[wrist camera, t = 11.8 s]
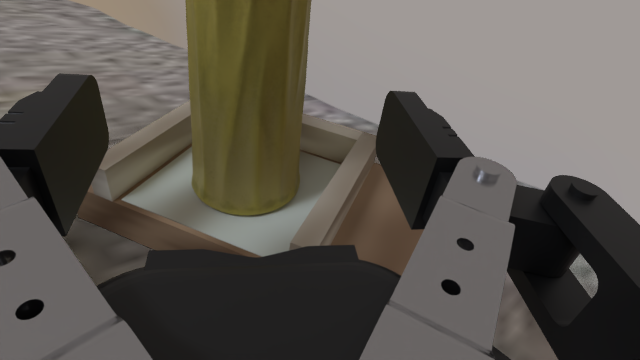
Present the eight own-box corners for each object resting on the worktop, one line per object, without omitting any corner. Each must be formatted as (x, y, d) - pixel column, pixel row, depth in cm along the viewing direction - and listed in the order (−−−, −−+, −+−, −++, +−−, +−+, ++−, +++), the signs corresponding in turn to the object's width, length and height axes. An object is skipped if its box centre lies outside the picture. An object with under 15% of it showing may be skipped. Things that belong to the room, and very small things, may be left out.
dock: (78, 217, 23) (57, 152, 20) (195, 133, 31) (191, 79, 28) (420, 363, 18) (452, 304, 15) (448, 219, 27) (472, 164, 24)
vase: (244, 235, 20) (248, -124, 11) (168, 179, 22) (125, -145, 14) (319, 183, 24) (366, -108, 15) (248, 141, 26) (253, -127, 18)
